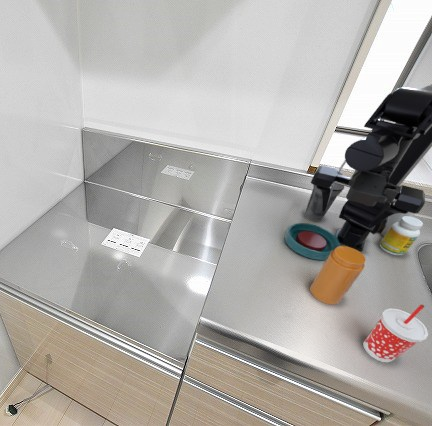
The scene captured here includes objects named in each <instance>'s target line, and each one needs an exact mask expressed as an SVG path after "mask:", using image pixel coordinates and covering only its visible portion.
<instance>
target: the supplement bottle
mask: <svg viewBox="0 0 432 426" xmlns="http://www.w3.org/2000/svg"><path fill="white" fill-rule="evenodd" d="M423 225H424V223H423V221H421V220H420V219H419V218H417V217H415V216H414V217H410V216H404V217H402V218H401V220H400V221H399V222H396V223H394V224H393V225H392V226H391V228H390V229H389V231H388V232H387V234H386V235H385V236H383V238H382V239H381V241H380V242H379V247H380V249H382V250H383V251H384V252H385V253H387V254H389V255H393V256H403V255H405V254H406V253H407V251H408V250H409V249H410V248H411V246H413V244H414V243H415V241H417V239H418V238H419V237H420V235H421V231H420V230H421V228H422V227H423Z"/></svg>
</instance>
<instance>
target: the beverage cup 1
mask: <svg viewBox="0 0 432 426" xmlns="http://www.w3.org/2000/svg"><path fill="white" fill-rule="evenodd" d="M346 164H347V163H346V160H345V159H344V160H343V162H342V164H341V165H340V167H339V168H338V169H339V171H338V173H337V175H341V176H344V174H343V173H342V172H341V171H342V169H343V168H344V166H345V165H346ZM344 190H345V186H343V185H339V184H334V187H333V190H332V193H331V196H330V199H329V202H328V205H327V207H326V209H325V211H324V212H322V201H323V197H322V192H321V190H320V189H317V188H316V185H313V186H312V191H311V194H310V196H309V199H308V203H307V206H306V208H305V213H304V216H305V217H306V218H307V219H308V220H310V221H314V222H321V221H322V220H323V218H324V217H325V215H326V214H327V212H328V211H329V209H330V208H331V207H332V205H333V204H334V202H335V200H336V199H337V198H338V197H339V195H340V194H341V193H342V192H343V191H344Z"/></svg>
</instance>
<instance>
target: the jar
mask: <svg viewBox="0 0 432 426" xmlns="http://www.w3.org/2000/svg"><path fill="white" fill-rule="evenodd" d="M366 260H367V259H366V256H365V255H364V254H363V253H362V251H359V250H356V249H353V248H351V247H348V246H345V245H340V246H339V247H337V248H335V249H334V250H333V251H331V252H330V254H329V256H328V258H327V259H326V260H325V261H324V263H323V264H322V266H321V267H320V270H319V271H318V273H317V275H316V276H315V278H314V280H313V281H312V283H311V285H310V287H309V292H310V294H311V295H312V296H313V297H314V299H316V300H318V301H319V302H321V303H323V304H326V305H331V306H335V305H338V304H339V303H341V301H342V300H343V298H344V297H345V296H346V294H347V293H348V291H349V290H350V289H351V287H352V286H353V284H354V283H355V281H356V280H357V279H358V277H359V276H360V274H361V273H362V272H363V270H364V269H365V265H366V264H365V263H366Z"/></svg>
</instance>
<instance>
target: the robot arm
mask: <svg viewBox="0 0 432 426" xmlns="http://www.w3.org/2000/svg"><path fill="white" fill-rule="evenodd" d="M363 127H364V128H367V129H371V131H370V132H369V133H368V134H367V135H366V137H363V138H361V139H359V140H356V141H354V142H353V143H351V144H349V146H348V147H346V150H345V153H344V161H345V160H346V163H345V164H347V165H348V167H350V168H351V169H353V170H354V171H353V173H352V176H351V177H348V176H345V175H343V176H341V175H337V173H338V171H339V168H335V167H332V166H328V165H324V164H322V165H320V166H318V167H317V169H316V171H315V172H314V174H313V177H312V178H311V180H310V184H311V185H313V186H314V185H316V188H317V189H320V190H321V192H322V197H323V201H322V212H324V211H325V209H326V207H327V205H328V202H329V199H330V196H331V193H332V190H333V187H334V184H339V185H343V186H344V187H347V188H349V189H348V191H347V193H346V195H345V198H346V200H347V201H345V202H344V204H343V206H342V208H341V211H340V213H339V216H338V218H339V219H342V220H343V221H345V222H344V223H343V225H342V227H341V228H337V230H336V233H335V235H334V236H335V237H336V238H337V239H338V241H339V243H340V245H341V246H347V247H351V248H353V249H356V250H357V251H359V252H363V250H364V249H365V244H366V239H368V237H369V235H370V234H372V235H375V234H380V233H382V232H383V230H384V229H385V227H386V225H387V222H388V217H389V216H391V215H393V214H396V213H403V214H406V213H408V212H411V213H415V214H419V213H420V211H421V210H422V209H423V208H424V206H425V203H426V193H425V192H424V189H419V188H415V187H411V186H407V185H403V182H404V181H405V180H406V179H407V177H408V176H409V175H410V174H411V173H412V171H413V170H414V169H415V168H416V167H417V165H418V164H419V163H420V162H421V161H422V159H423V158H424V157H425V155H426V154H427V153H428V152H429V151H430V149H431V148H432V84H429V85H426V86H423V87H421V88H413V87H398V88H397V89H395V90H394V91H392V92H389V93H388V94H387V95H386V96H385V97H384V99H383V100H382V102H381V103H380V104H379V105H378V106H377V108H376V109H375V111H374V112H373V113H372V114H371V115H370V117H369V118H368V120H367V121H366V122H365V124H364V125H363Z"/></svg>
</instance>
